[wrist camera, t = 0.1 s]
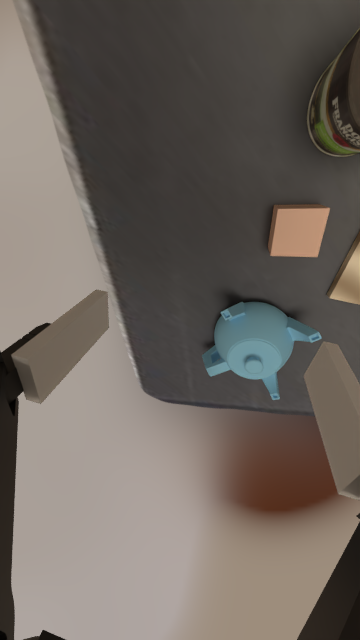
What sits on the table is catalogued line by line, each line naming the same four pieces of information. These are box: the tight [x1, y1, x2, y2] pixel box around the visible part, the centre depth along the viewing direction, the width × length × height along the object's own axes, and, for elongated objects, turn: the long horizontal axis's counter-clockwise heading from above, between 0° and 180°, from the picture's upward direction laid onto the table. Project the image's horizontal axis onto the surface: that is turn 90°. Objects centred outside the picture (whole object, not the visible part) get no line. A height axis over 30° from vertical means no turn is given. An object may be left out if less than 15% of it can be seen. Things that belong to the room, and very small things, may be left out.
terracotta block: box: [268, 204, 330, 257], centre depth 33 cm, size 6×6×5 cm
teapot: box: [202, 301, 322, 400], centre depth 41 cm, size 15×15×11 cm
